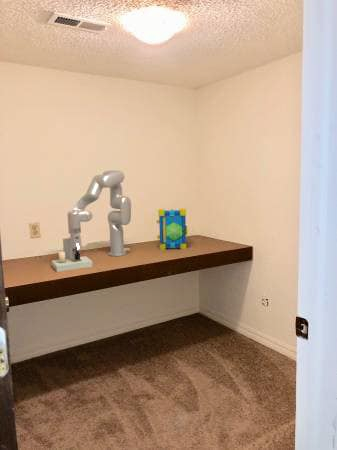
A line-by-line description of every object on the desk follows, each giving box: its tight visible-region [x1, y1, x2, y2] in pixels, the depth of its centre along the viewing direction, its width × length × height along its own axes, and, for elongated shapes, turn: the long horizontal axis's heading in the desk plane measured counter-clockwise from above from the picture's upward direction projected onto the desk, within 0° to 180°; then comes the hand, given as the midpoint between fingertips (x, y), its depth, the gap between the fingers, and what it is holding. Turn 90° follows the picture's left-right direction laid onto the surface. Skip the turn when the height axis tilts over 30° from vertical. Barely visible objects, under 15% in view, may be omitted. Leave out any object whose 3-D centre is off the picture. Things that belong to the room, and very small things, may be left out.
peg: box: [73, 250, 80, 262], centre depth 235 cm, size 4×4×10 cm
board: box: [51, 251, 93, 273], centre depth 233 cm, size 22×16×10 cm
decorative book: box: [156, 207, 188, 251], centre depth 277 cm, size 14×23×30 cm, turn 89°
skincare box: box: [62, 237, 73, 259], centre depth 252 cm, size 8×6×15 cm
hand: (76, 258), depth 235 cm, fingers open, 5 cm apart
